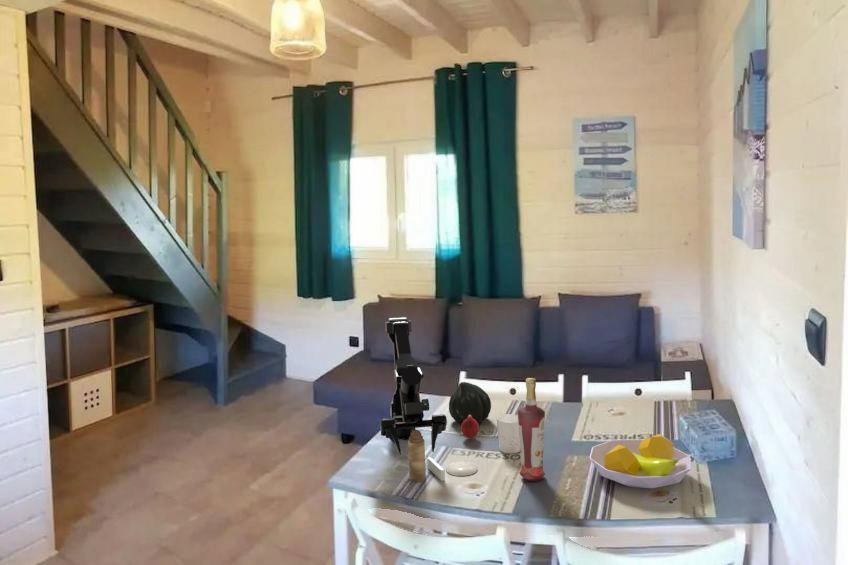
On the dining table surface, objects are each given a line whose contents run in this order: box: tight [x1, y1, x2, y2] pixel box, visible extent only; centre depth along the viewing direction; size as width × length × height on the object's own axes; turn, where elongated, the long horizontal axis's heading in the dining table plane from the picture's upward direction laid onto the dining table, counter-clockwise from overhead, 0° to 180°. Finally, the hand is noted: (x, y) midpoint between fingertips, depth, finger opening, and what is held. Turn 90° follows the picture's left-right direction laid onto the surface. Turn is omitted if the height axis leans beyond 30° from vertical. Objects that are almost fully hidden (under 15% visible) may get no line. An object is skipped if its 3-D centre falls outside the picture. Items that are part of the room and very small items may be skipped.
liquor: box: [517, 377, 546, 482], centre depth 178 cm, size 7×7×28 cm
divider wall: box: [427, 457, 446, 482], centre depth 185 cm, size 10×1×3 cm, turn 22°
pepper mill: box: [407, 429, 427, 483], centre depth 181 cm, size 5×5×14 cm
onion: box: [460, 415, 480, 440], centre depth 210 cm, size 6×6×8 cm
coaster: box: [445, 461, 478, 477], centre depth 187 cm, size 9×9×1 cm
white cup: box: [496, 413, 520, 454], centre depth 200 cm, size 8×8×10 cm
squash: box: [448, 381, 492, 425], centre depth 227 cm, size 14×15×15 cm
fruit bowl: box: [589, 433, 692, 489], centre depth 176 cm, size 28×27×11 cm
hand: (416, 453), depth 181 cm, fingers open, 9 cm apart
